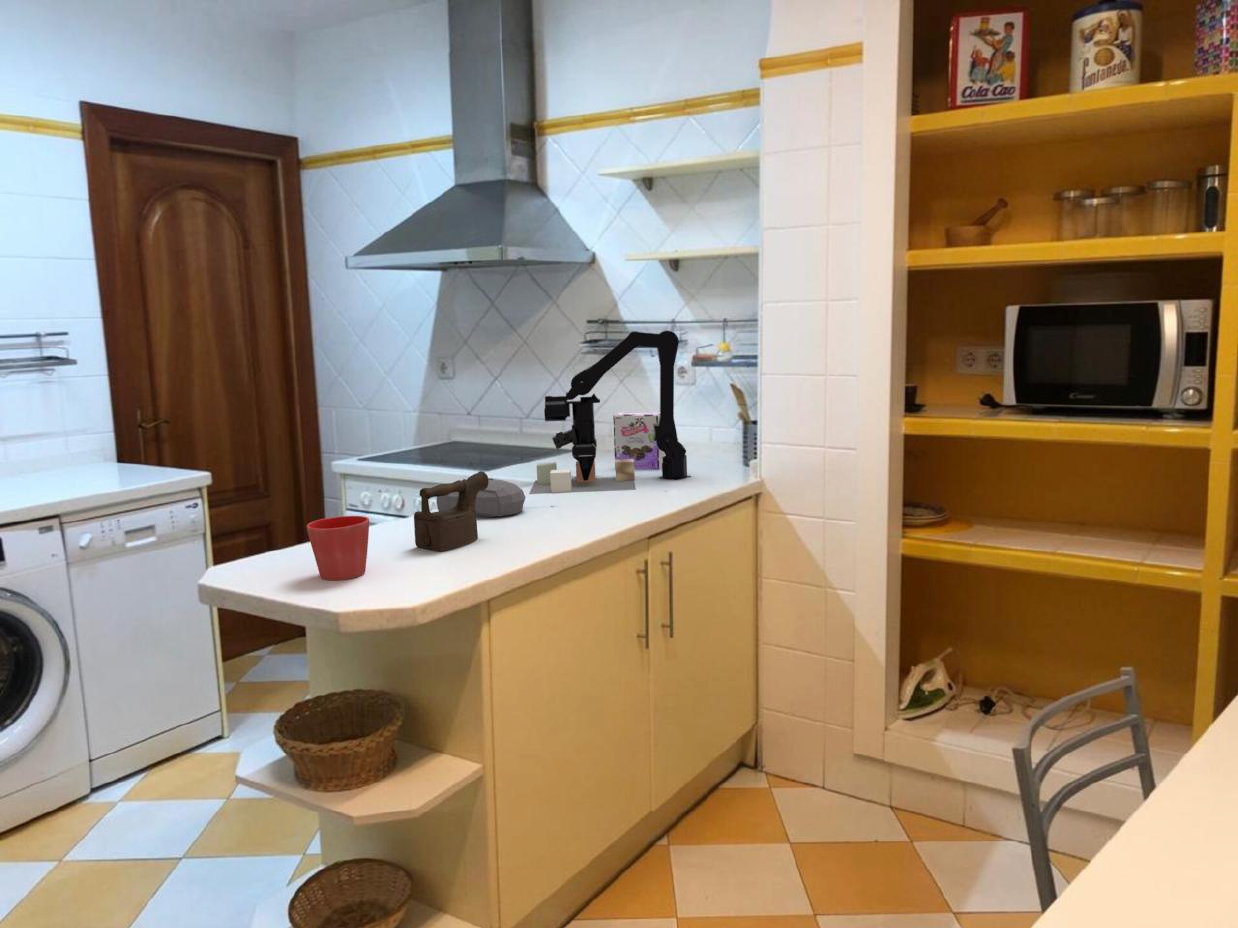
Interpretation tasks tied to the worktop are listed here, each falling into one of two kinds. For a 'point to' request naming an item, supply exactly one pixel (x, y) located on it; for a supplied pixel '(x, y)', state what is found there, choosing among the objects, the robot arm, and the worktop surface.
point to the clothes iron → (449, 515)
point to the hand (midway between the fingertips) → (586, 477)
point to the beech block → (624, 470)
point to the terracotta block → (580, 477)
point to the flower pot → (340, 546)
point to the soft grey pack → (490, 499)
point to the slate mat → (588, 486)
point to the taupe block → (560, 480)
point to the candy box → (637, 440)
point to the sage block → (545, 472)
